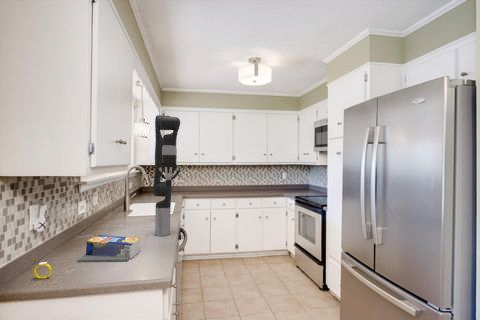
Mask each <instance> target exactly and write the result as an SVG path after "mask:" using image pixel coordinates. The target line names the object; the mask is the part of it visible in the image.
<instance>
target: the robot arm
mask: <svg viewBox="0 0 480 320" xmlns="http://www.w3.org/2000/svg"><path fill="white" fill-rule="evenodd" d="M180 126H181V120H180V118H179V117H177V116H170V115H163V114H162V115H160V114H156V116H155V119H154V133H155V135H154V137H155V143H154V144H155V146H154V177H153V190H152V192H153V196H155V197H164V199H163V200H160V201H157V202H156V203H155V210H154V211H155V212H154V213H155V215H154V217H155V221H154V235H155V236H157V237H167V236H169V235H171V212H172V211H171V209H172V208H171V205H172V204H171V203H172V190H173V188H172V186H173V185H172V184H173V183H172V181H173V180H175V179H176V178H177V177H178V175H179V174H180V173H181V172H182V170H181V169H180V168H178V165H177V157H178V156H177V153H178V152H177V151H178V150H177V139H178V132H179V130H180ZM162 131H172V132H171V133H167V134H163V136H162V133H161V132H162ZM174 173H175V174H174ZM173 174H174V175H173ZM161 178H162V179H163V180H165V181H161Z"/></svg>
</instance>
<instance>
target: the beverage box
mask: <svg viewBox="0 0 480 320" xmlns="http://www.w3.org/2000/svg"><path fill="white" fill-rule="evenodd" d="M141 242H142V238H141V237H128V236H117V235H107V234H106V235H105V234H98V235H95V236H94V237H92V238H91V237H90V238H89V239H87V240H86V246H85V247H86V248H85V254H86V255H94V256H119V257H130V259H129V260H131V259H133V258H134V257H135V256H136V255H138V254H139V253H140V252H141V245H142V244H141Z"/></svg>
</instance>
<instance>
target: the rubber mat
mask: <svg viewBox="0 0 480 320" xmlns="http://www.w3.org/2000/svg"><path fill="white" fill-rule="evenodd" d="M129 260H131V259H130V257H119V256H94V255H86V253H85V254H83V255H82V256H81V257H79V258H78V259H77V260H76V261H77V263H114V262H115V263H117V262H119V263H121V262H123V263H125V262H126V263H128V262H129Z"/></svg>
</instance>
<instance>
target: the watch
mask: <svg viewBox="0 0 480 320" xmlns="http://www.w3.org/2000/svg"><path fill="white" fill-rule="evenodd" d="M44 266H45V267H47V268H48V275H47V276H40V275H39V274H38V271H37V270H38V268H39V267H44ZM52 273H53V268H52V266H51V265H50V264H49V263H48V261H42V262H39V263H38V264H37V265H36V266H35V267H34V269H33V275H34V277H35V278H36V279H38V280H39V279H40V280H41V279H47V278H49V277H50V276H51V274H52Z"/></svg>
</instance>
